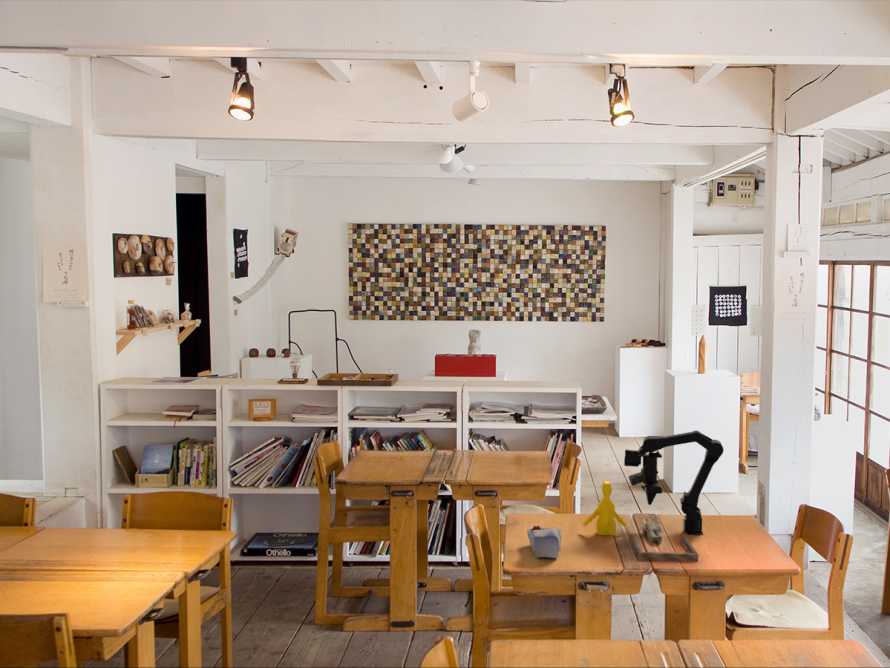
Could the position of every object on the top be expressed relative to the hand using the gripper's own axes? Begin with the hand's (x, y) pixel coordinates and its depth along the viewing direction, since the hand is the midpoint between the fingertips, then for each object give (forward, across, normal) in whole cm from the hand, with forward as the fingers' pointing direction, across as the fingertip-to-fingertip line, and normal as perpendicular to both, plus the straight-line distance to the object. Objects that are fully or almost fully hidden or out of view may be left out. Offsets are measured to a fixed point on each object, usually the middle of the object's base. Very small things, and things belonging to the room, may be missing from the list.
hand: (649, 504), depth 309 cm
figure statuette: (+10, +8, -19) cm, 23 cm away
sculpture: (+10, +12, -1) cm, 16 cm away
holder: (+10, +26, 0) cm, 27 cm away
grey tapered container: (+10, +30, -44) cm, 54 cm away
